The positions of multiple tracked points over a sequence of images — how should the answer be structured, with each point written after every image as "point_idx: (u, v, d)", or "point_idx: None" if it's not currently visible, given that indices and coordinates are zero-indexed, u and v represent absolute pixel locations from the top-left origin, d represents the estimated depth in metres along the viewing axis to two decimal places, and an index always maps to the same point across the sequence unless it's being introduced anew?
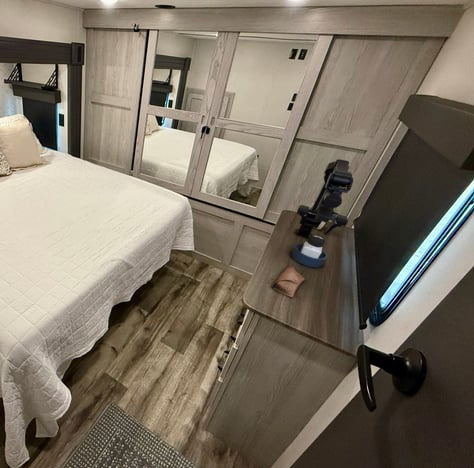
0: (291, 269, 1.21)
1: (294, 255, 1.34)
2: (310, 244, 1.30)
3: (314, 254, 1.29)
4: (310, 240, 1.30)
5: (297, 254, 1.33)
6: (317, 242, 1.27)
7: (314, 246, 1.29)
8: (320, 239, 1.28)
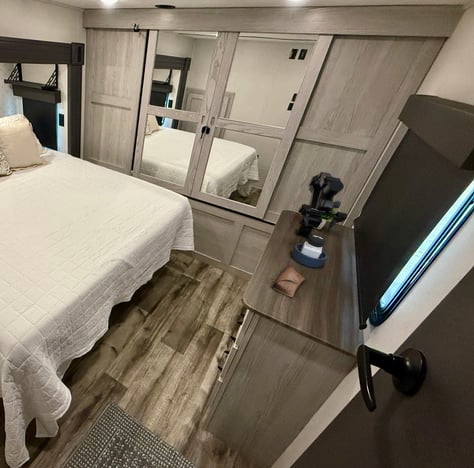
0: (291, 269, 1.21)
1: (294, 255, 1.34)
2: (310, 244, 1.30)
3: (314, 254, 1.29)
4: (310, 240, 1.30)
5: (297, 254, 1.33)
6: (317, 242, 1.27)
7: (314, 246, 1.29)
8: (320, 239, 1.28)
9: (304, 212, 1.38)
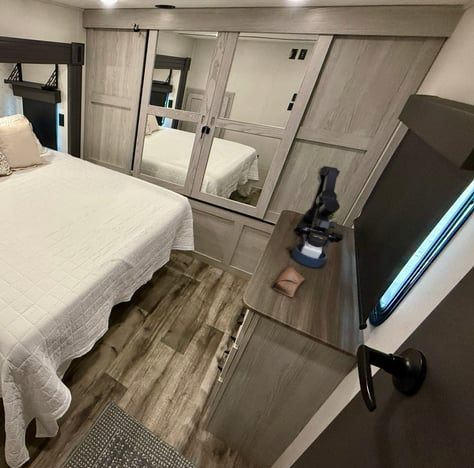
0: (291, 269, 1.21)
1: (294, 255, 1.34)
2: (310, 244, 1.30)
3: (314, 254, 1.29)
4: (310, 240, 1.30)
5: (297, 254, 1.33)
6: (317, 242, 1.27)
7: (314, 246, 1.28)
8: (320, 239, 1.28)
9: (301, 232, 1.34)
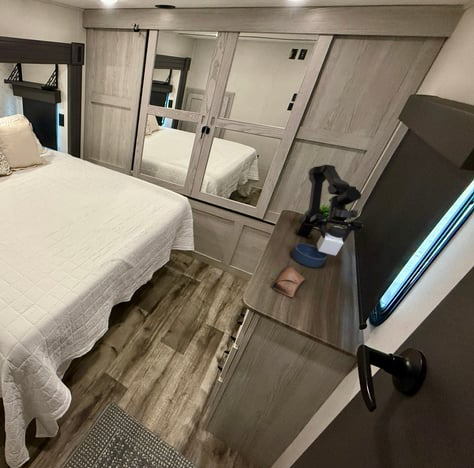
0: (291, 269, 1.21)
1: (294, 255, 1.34)
2: (331, 235, 1.25)
3: (336, 245, 1.25)
4: (331, 231, 1.25)
5: (297, 254, 1.33)
6: (339, 233, 1.23)
7: (336, 237, 1.24)
8: (341, 229, 1.24)
9: (320, 223, 1.29)
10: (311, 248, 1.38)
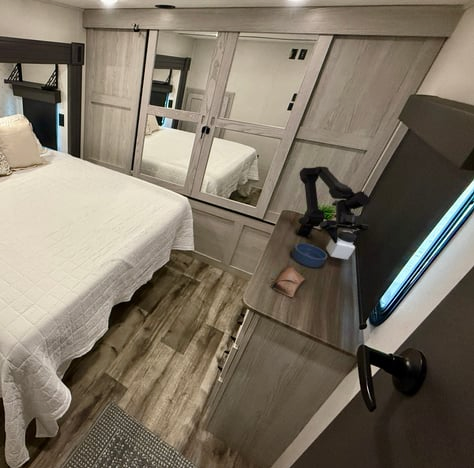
0: (291, 269, 1.21)
1: (294, 255, 1.34)
2: (344, 240, 1.26)
3: (348, 250, 1.27)
4: (343, 236, 1.26)
5: (297, 254, 1.33)
6: (351, 238, 1.25)
7: (348, 242, 1.26)
8: (352, 234, 1.26)
9: (330, 228, 1.30)
10: (311, 248, 1.38)
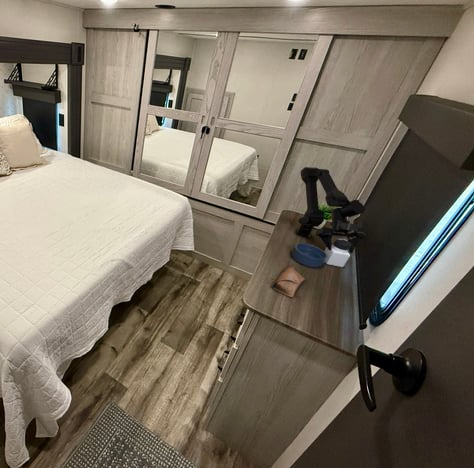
0: (291, 269, 1.21)
1: (294, 255, 1.34)
2: (339, 248, 1.29)
3: (344, 257, 1.29)
4: (338, 244, 1.29)
5: (297, 254, 1.33)
6: (346, 246, 1.27)
7: (343, 250, 1.28)
8: (347, 242, 1.28)
9: (324, 236, 1.32)
10: (311, 248, 1.38)
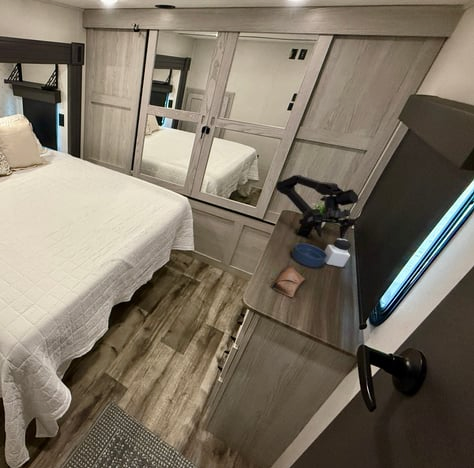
0: (291, 269, 1.21)
1: (294, 255, 1.34)
2: (339, 248, 1.29)
3: (344, 257, 1.29)
4: (338, 244, 1.29)
5: (297, 254, 1.33)
6: (346, 245, 1.27)
7: (343, 250, 1.28)
8: (347, 242, 1.28)
9: (315, 223, 1.40)
10: (311, 248, 1.38)
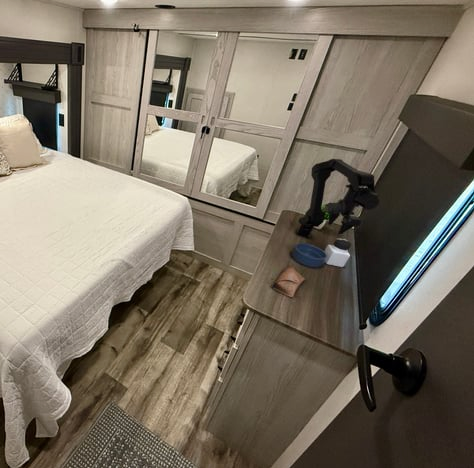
0: (291, 269, 1.21)
1: (294, 255, 1.34)
2: (339, 248, 1.29)
3: (344, 257, 1.29)
4: (338, 244, 1.29)
5: (297, 254, 1.33)
6: (346, 245, 1.27)
7: (343, 250, 1.28)
8: (347, 242, 1.28)
9: None
10: (311, 248, 1.38)
